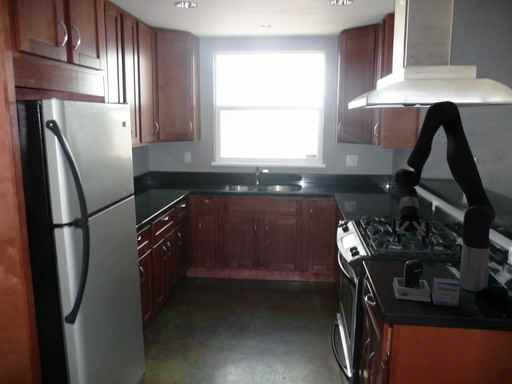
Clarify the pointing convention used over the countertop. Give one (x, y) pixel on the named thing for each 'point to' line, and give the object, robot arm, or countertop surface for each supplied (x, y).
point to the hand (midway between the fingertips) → (411, 244)
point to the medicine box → (445, 292)
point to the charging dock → (411, 291)
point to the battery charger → (412, 274)
